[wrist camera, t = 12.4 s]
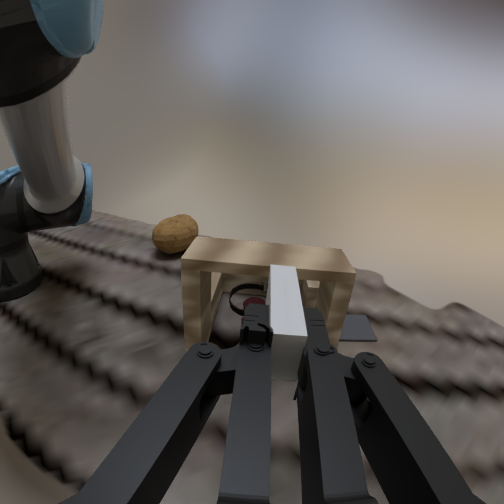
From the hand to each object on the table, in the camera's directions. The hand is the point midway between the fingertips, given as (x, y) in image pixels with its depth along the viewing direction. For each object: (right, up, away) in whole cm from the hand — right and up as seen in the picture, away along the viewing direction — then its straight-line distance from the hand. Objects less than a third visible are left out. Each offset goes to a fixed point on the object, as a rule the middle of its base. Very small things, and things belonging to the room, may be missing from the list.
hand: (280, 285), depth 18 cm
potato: (-20, +2, +51) cm, 54 cm away
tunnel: (0, -9, +26) cm, 28 cm away
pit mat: (+13, -10, +26) cm, 31 cm away
